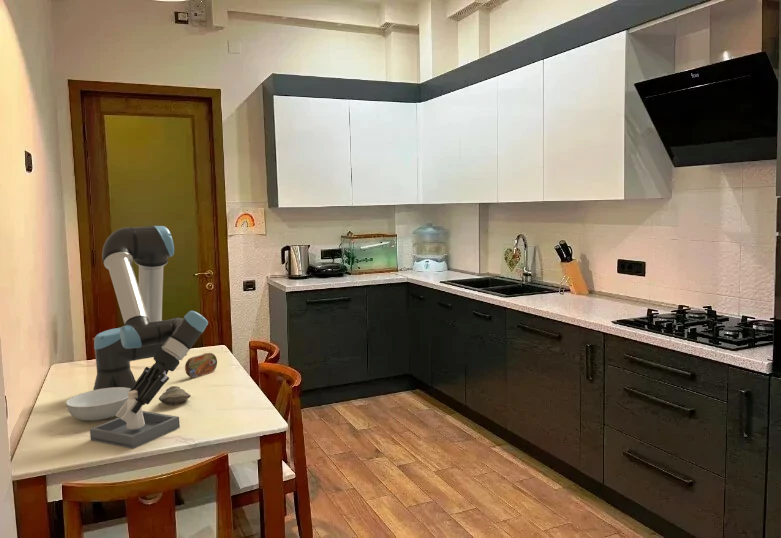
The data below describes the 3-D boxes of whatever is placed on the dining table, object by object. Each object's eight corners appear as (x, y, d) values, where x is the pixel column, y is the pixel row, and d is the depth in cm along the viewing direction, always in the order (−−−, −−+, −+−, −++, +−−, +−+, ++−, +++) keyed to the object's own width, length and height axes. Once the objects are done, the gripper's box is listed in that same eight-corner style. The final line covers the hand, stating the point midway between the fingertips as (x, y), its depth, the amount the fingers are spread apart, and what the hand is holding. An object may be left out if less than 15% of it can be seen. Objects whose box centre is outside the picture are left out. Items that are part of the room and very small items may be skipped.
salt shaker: (131, 423, 195) (128, 388, 194) (148, 423, 194) (145, 388, 193) (122, 429, 189) (119, 394, 188) (139, 429, 189) (136, 394, 188)
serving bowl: (104, 403, 224) (102, 385, 223) (149, 409, 216) (147, 389, 215) (52, 423, 205) (50, 403, 204) (100, 430, 197) (98, 409, 196)
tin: (189, 380, 250) (188, 359, 249) (184, 379, 252) (182, 358, 251) (218, 370, 263) (216, 351, 262) (213, 369, 265) (211, 350, 264)
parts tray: (90, 440, 188) (89, 429, 188) (138, 420, 204) (137, 410, 204) (133, 448, 180) (132, 437, 180) (179, 427, 196) (179, 416, 196)
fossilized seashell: (197, 395, 223) (188, 379, 221) (178, 414, 214) (168, 398, 212) (177, 398, 228) (168, 382, 226) (157, 416, 220) (147, 400, 217)
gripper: (191, 365, 194) (142, 432, 185) (167, 357, 207) (121, 419, 197) (173, 352, 190) (122, 419, 181) (150, 344, 202) (102, 407, 193)
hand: (122, 419), depth 189 cm, fingers closed on salt shaker, 4 cm apart
